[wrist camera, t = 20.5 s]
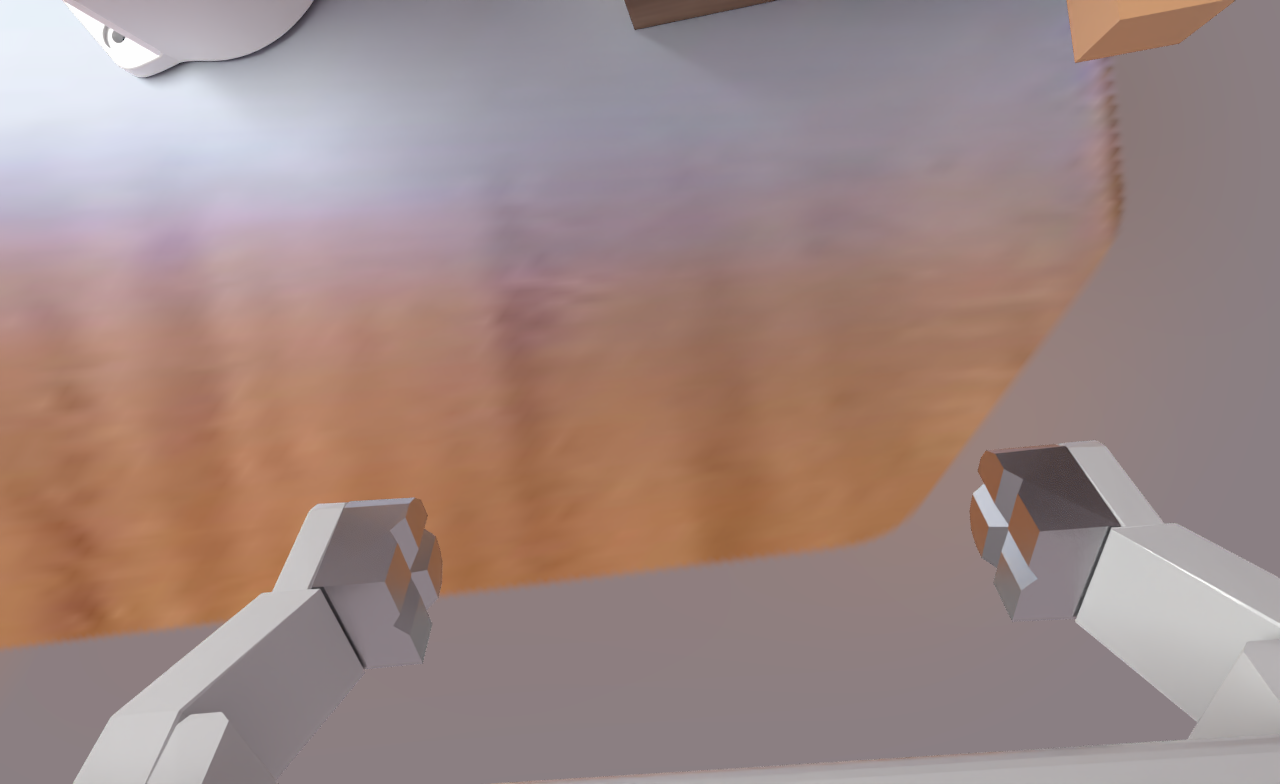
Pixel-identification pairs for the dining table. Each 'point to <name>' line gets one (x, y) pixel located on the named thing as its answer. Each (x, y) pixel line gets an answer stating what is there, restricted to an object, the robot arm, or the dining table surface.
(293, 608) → the robot arm
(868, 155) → the dining table surface
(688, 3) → the tall wood-grain pillar
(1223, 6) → the wooden handled mallet
